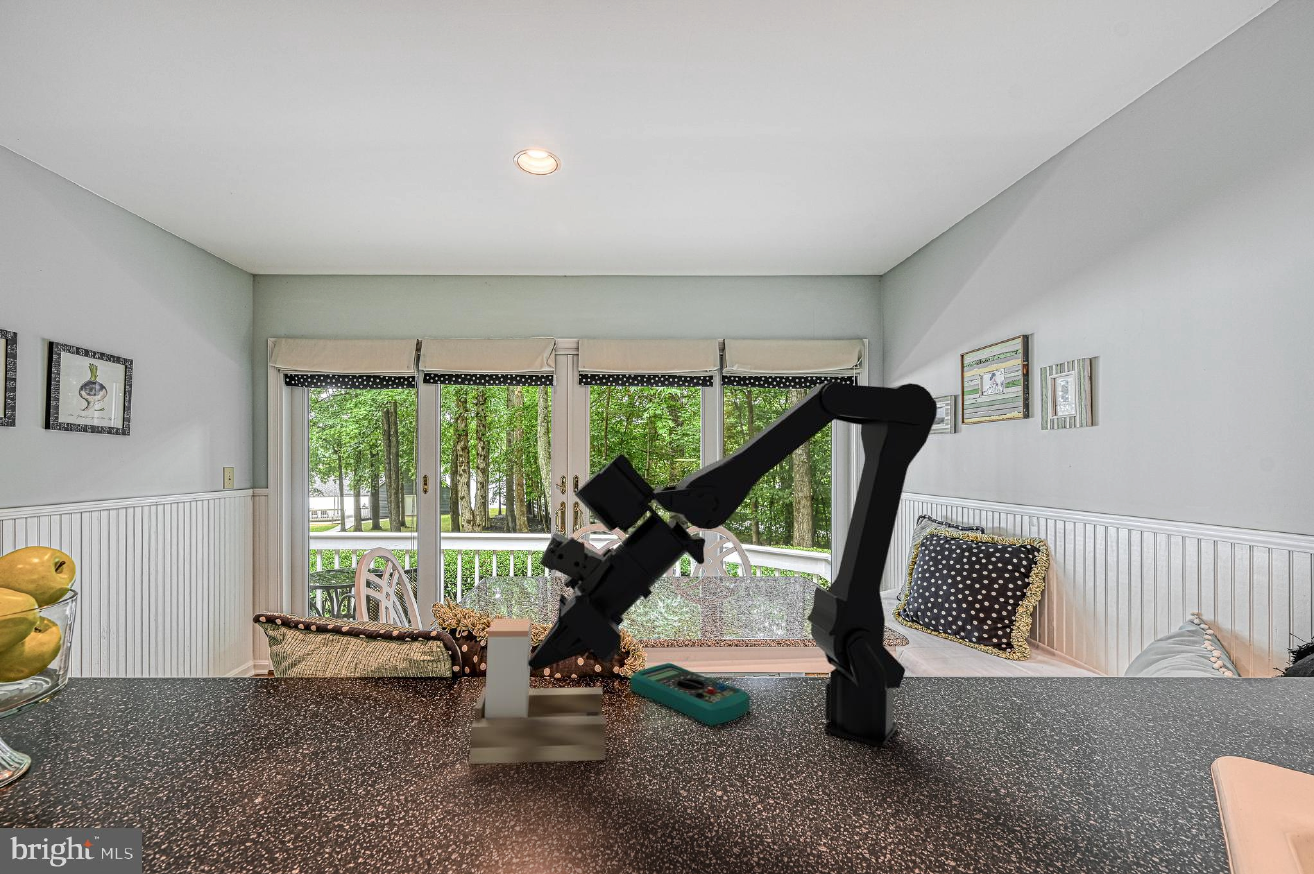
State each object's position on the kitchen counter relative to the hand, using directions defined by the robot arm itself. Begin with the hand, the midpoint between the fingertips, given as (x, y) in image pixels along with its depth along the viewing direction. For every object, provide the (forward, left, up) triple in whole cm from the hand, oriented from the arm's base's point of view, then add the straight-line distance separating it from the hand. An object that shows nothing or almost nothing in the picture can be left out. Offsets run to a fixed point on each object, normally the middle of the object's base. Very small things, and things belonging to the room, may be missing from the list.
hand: (531, 666), depth 67 cm
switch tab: (+2, +2, -6) cm, 6 cm away
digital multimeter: (-7, -20, -8) cm, 23 cm away
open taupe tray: (-1, -1, -8) cm, 8 cm away
